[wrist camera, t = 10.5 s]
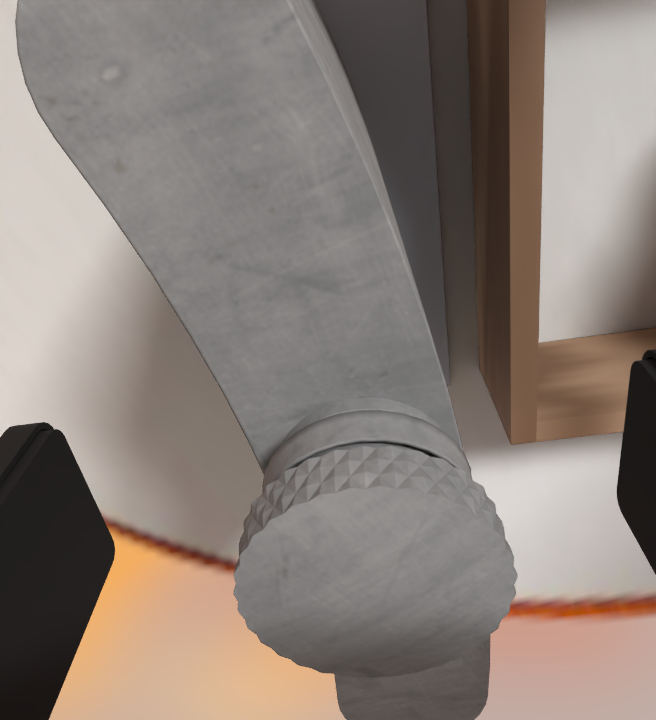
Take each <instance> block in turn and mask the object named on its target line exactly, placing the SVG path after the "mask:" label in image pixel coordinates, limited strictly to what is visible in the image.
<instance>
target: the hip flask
mask: <svg viewBox="0 0 656 720" xmlns="http://www.w3.org/2000/svg"><path fill="white" fill-rule="evenodd" d="M15 24H16V37H17V49H18V56H19V60H20V64H21V68H22V72H23V76H24V80H25V84H26V86H27V88H28V91H29V93H30V95H31V97H32V100H33V102H34V104H35V107H36V109H37V111H38V113H39V115H40V116H41V118H42V119H43V121H44V122H45V124H46V126H47V127H48V129H49V130H50V132H51V133H52V135H53V137H54V138H55V139H56V141H57V142H58V143H59V145H60V146H61V148H62V149H63V150H64V152H65V153H66V154H67V156H68V157H69V158H70V160H71V161H72V162H73V164H74V165H75V166H76V168H77V169H78V170H79V172H80V173H81V175H82V176H83V177H84V179H85V180H86V181H87V183H88V184H89V185H90V187H91V188H92V189H93V191H94V192H95V193H96V195H97V196H98V197H99V199H100V200H101V202H102V203H103V204H104V206H105V207H106V208H107V210H108V211H109V213H110V214H111V216H112V217H113V219H114V220H115V222H116V223H117V224H118V226H119V227H120V229H121V230H122V232H123V233H124V235H125V236H126V238H127V239H128V240H129V242H130V243H131V245H132V246H133V248H134V249H135V251H136V252H137V254H138V255H139V256H140V258H141V259H142V261H143V262H144V264H145V265H146V267H147V268H148V270H149V271H150V272H151V274H152V276H153V277H154V279H155V280H156V282H157V284H158V285H159V287H160V288H161V290H162V292H163V293H164V295H165V296H166V298H167V300H168V301H169V303H170V304H171V306H172V308H173V309H174V311H175V312H176V314H177V316H178V317H179V319H180V320H181V322H182V324H183V325H184V327H185V328H186V330H187V332H188V333H189V335H190V337H191V338H192V340H193V342H194V343H195V345H196V347H197V349H198V350H199V352H200V354H201V356H202V357H203V359H204V361H205V362H206V364H207V366H208V368H209V369H210V371H211V373H212V375H213V376H214V378H215V380H216V381H217V383H218V385H219V387H220V388H221V390H222V392H223V394H224V395H225V397H226V399H227V401H228V403H229V405H230V407H231V409H232V411H233V413H234V415H235V417H236V419H237V421H238V422H239V424H240V426H241V428H242V430H243V432H244V434H245V436H246V438H247V440H248V442H249V444H250V446H251V448H252V450H253V452H254V454H255V456H256V458H257V461H258V463H259V465H260V467H261V469H262V471H263V473H264V480H263V486H262V487H263V493H262V495H261V496H260V497H259V498H257V499H256V500H255V501H253V503H252V505H251V511H250V514H249V515H248V516H247V517H246V519H245V520H244V533H243V535H242V537H241V539H240V543H239V559H238V562H237V564H236V568H235V572H234V577H235V582H236V585H235V589H234V596H235V597H236V599H237V601H238V611H239V613H240V614H241V615H242V616H243V618H244V619H245V621H246V625H247V627H248V629H249V630H251V631H252V632H254V633H255V634H257V636H258V638H259V640H260V642H261V643H263V644H265V645H266V646H268V647H270V648H272V649H273V650H274V651H275V652H276V653H277V654H278V655H280V656H282V657H285V658H288V659H291V660H292V661H293V662H295V663H296V664H298V665H300V666H304V667H309V668H312V669H315V670H317V671H319V672H321V673H334V675H335V682H336V690H337V698H338V704H339V708H340V710H341V712H342V714H343V715H344V717H345V718H346V719H347V720H474V719H475V718H476V717H477V716H478V715H479V714H480V713H481V712H482V710H483V708H484V706H485V705H486V701H487V697H488V683H489V671H490V634H491V633H492V632H494V631H495V630H497V629H498V627H499V624H500V621H501V620H502V619H503V618H504V617H505V616H506V615H507V614H508V613H509V610H510V603H511V601H512V600H513V598H514V597H515V595H516V591H515V587H514V584H515V581H516V579H517V573H516V570H515V568H514V566H513V562H514V557H513V554H512V551H511V548H510V546H509V544H508V543H507V541H506V539H505V533H504V527H503V524H502V521H501V520H500V518H499V517H498V516H497V514H496V508H495V504H494V502H493V501H492V500H490V499H489V498H488V497H487V495H486V493H485V490H484V487H483V486H482V485H480V484H478V483H476V482H474V481H473V480H472V476H471V468H470V466H469V463H468V461H467V458H466V456H465V454H464V451H463V447H462V443H461V439H460V435H459V431H458V427H457V423H456V419H455V415H454V412H453V408H452V404H451V400H450V396H449V392H448V389H447V385H446V382H445V379H444V375H443V372H442V369H441V365H440V362H439V359H438V355H437V352H436V349H435V345H434V342H433V339H432V335H431V332H430V329H429V325H428V322H427V319H426V316H425V312H424V309H423V306H422V303H421V300H420V296H419V293H418V290H417V287H416V283H415V280H414V277H413V274H412V271H411V267H410V264H409V261H408V258H407V255H406V251H405V248H404V245H403V242H402V238H401V235H400V232H399V229H398V226H397V222H396V219H395V216H394V213H393V210H392V206H391V203H390V200H389V197H388V193H387V190H386V187H385V184H384V181H383V177H382V174H381V171H380V168H379V165H378V161H377V158H376V155H375V152H374V148H373V145H372V142H371V139H370V136H369V132H368V129H367V126H366V123H365V120H364V117H363V114H362V111H361V109H360V106H359V103H358V100H357V97H356V94H355V92H354V89H353V86H352V84H351V81H350V79H349V76H348V73H347V71H346V68H345V65H344V63H343V61H342V58H341V56H340V54H339V52H338V49H337V47H336V45H335V42H334V40H333V38H332V35H331V33H330V31H329V29H328V27H327V25H326V23H325V21H324V18H323V16H322V14H321V12H320V10H319V8H318V6H317V4H316V2H315V0H18V2H17V11H16V21H15Z"/></svg>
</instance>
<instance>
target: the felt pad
mask: <svg viewBox="0 0 656 720" xmlns="http://www.w3.org/2000/svg"><path fill="white" fill-rule="evenodd" d="M315 2H316V4H317V6H318V8H319V10H320V12H321V14H322V16H323V18H324V21H325V23H326V25H327V27H328V29H329V31H330V33H331V35H332V38H333V40H334V42H335V45H336V47H337V49H338V52H339V54H340V56H341V58H342V61H343V63H344V65H345V68H346V71H347V73H348V76H349V79H350V81H351V84H352V86H353V89H354V92H355V94H356V97H357V100H358V103H359V106H360V109H361V111H362V114H363V117H364V120H365V123H366V126H367V129H368V132H369V136H370V139H371V142H372V145H373V148H374V152H375V155H376V158H377V161H378V165H379V168H380V171H381V174H382V177H383V181H384V184H385V187H386V190H387V193H388V197H389V200H390V203H391V206H392V210H393V213H394V216H395V219H396V222H397V226H398V229H399V232H400V235H401V238H402V242H403V245H404V248H405V251H406V255H407V258H408V261H409V264H410V267H411V271H412V274H413V277H414V280H415V283H416V287H417V290H418V293H419V296H420V300H421V303H422V306H423V309H424V312H425V316H426V319H427V322H428V325H429V329H430V332H431V335H432V339H433V342H434V345H435V349H436V352H437V355H438V359H439V362H440V365H441V369H442V372H443V375H444V379H445V382H446V385H447V386H450V370H449V354H448V339H447V323H446V307H445V291H444V276H443V260H442V244H441V228H440V213H439V197H438V181H437V165H436V150H435V134H434V118H433V103H432V87H431V71H430V55H429V40H428V24H427V8H426V0H315Z"/></svg>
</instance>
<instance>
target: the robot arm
mask: <svg viewBox="0 0 656 720" xmlns="http://www.w3.org/2000/svg"><path fill="white" fill-rule="evenodd" d="M617 499H618V504H619V507H620V510H621V512H622V514H623V516H624V518H625V520H626V522H627V523H628V525H629V527H630V529H631V531H632V533H633V534H634V536H635V538H636V540H637V542H638V543H639V545H640V547H641V549H642V551H643V552H644V554H645V556H646V558H647V560H648V562H649V563H650V565H651V567H652V569H653V571H654V572H655V574H656V349H653V350H647V351H646V352H645V353H644V355H643V357H642V360H639V361H635V362H633V364H632V366H631V370H630V379H629V387H628V396H627V405H626V414H625V422H624V431H623V440H622V449H621V458H620V466H619V475H618V484H617ZM114 555H115V547H114V541H113V539H112V536H111V534H110V532H109V530H108V528H107V526H106V524H105V521H104V519H103V517H102V515H101V513H100V511H99V509H98V506H97V504H96V502H95V500H94V498H93V496H92V494H91V492H90V489H89V487H88V485H87V483H86V481H85V479H84V477H83V474H82V472H81V470H80V468H79V466H78V464H77V462H76V460H75V457H74V455H73V453H72V451H71V449H70V447H69V445H68V442H67V440H66V438H65V436H64V435H63V433H62V432H61V431H60V430H57V429H55V430H54V429H53V427H52V426H51V425H50V424H48V423H45V422H42V423H34V424H26V425H17V426H12V427H9V428H8V429H7V430H6V431H5V432H4V433H3V435H2V436H1V437H0V720H49V717H50V715H51V712H52V710H53V707H54V705H55V703H56V700H57V698H58V695H59V693H60V690H61V688H62V686H63V683H64V681H65V678H66V676H67V673H68V671H69V668H70V666H71V664H72V661H73V659H74V656H75V654H76V651H77V649H78V646H79V644H80V642H81V639H82V637H83V634H84V632H85V629H86V627H87V624H88V622H89V620H90V617H91V615H92V612H93V610H94V607H95V605H96V602H97V600H98V597H99V595H100V592H101V590H102V588H103V585H104V583H105V580H106V578H107V576H108V573H109V571H110V568H111V566H112V563H113V560H114Z"/></svg>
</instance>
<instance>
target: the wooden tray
mask: <svg viewBox="0 0 656 720" xmlns="http://www.w3.org/2000/svg"><path fill="white" fill-rule="evenodd" d="M545 11H546V0H467V27H468V56H469V85H470V114H471V142H472V171H473V200H474V229H475V257H476V286H477V315H478V344H479V369H480V371H481V374H482V376H483V379H484V381H485V383H486V386H487V388H488V391H489V393H490V395H491V398H492V400H493V403H494V405H495V407H496V410H497V412H498V415H499V417H500V419H501V422H502V424H503V427H504V429H505V431H506V434H507V436H508V439H509V441H510V444H511V445H514V444H523V443H531V442H540V441H548V440H556V439H565V438H573V437H582V436H590V435H599V434H607V433H616V432H623V431H624V422H625V414H626V405H627V396H628V387H629V379H630V370H631V366H632V364H633V362H635V361H639V360H642V357H643V355H644V353H645V352H646V351H647V350H653V349H656V328H650V329H642V330H635V331H627V332H619V333H612V334H604V335H596V336H589V337H581V338H573V339H566V340H558V341H550V342H543V343H538V338H539V291H540V245H541V198H542V151H543V105H544V58H545Z"/></svg>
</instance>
